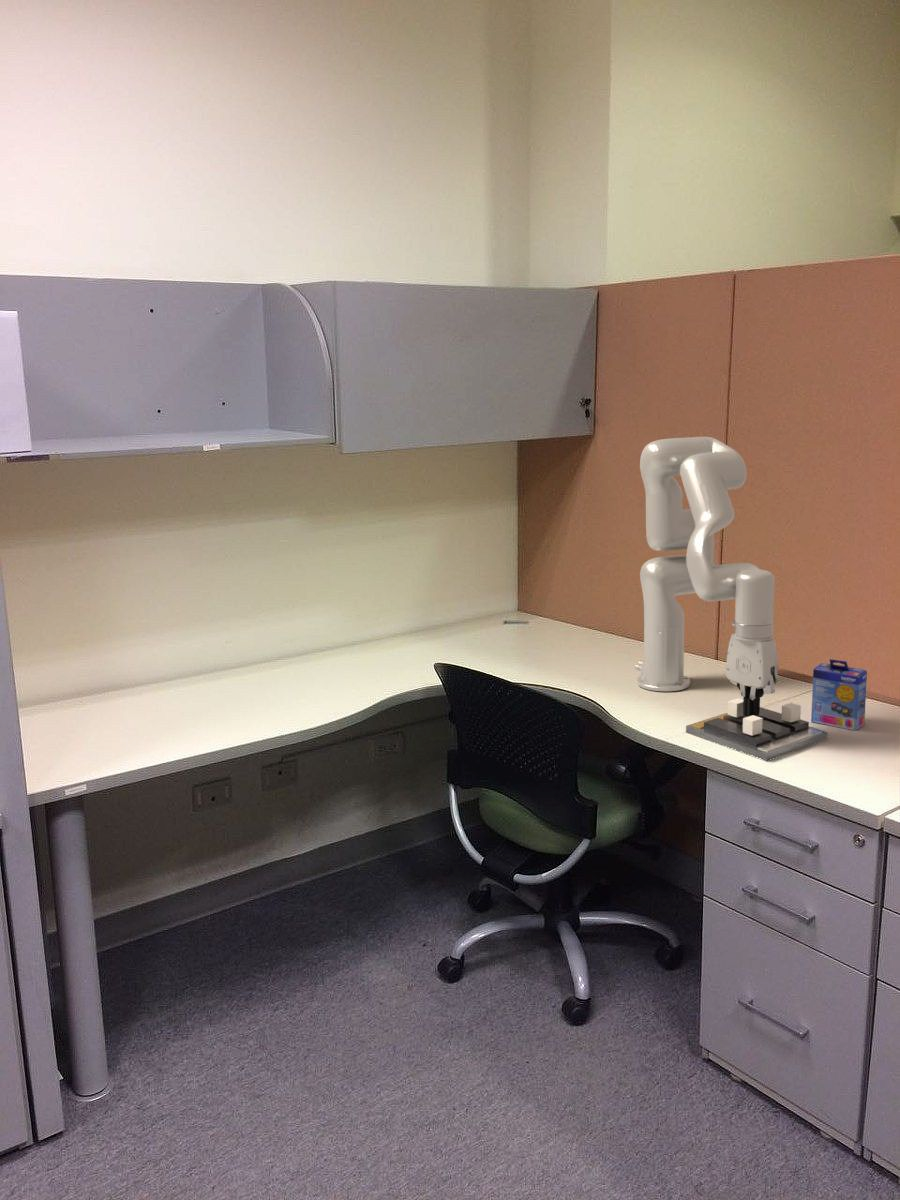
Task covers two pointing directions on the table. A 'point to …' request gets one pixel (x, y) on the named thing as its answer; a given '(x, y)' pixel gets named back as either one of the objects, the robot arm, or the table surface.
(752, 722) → the cream upright box
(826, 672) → the ink cartridge box
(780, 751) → the panel
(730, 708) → the matte ivory cube
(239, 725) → the table surface
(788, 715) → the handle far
